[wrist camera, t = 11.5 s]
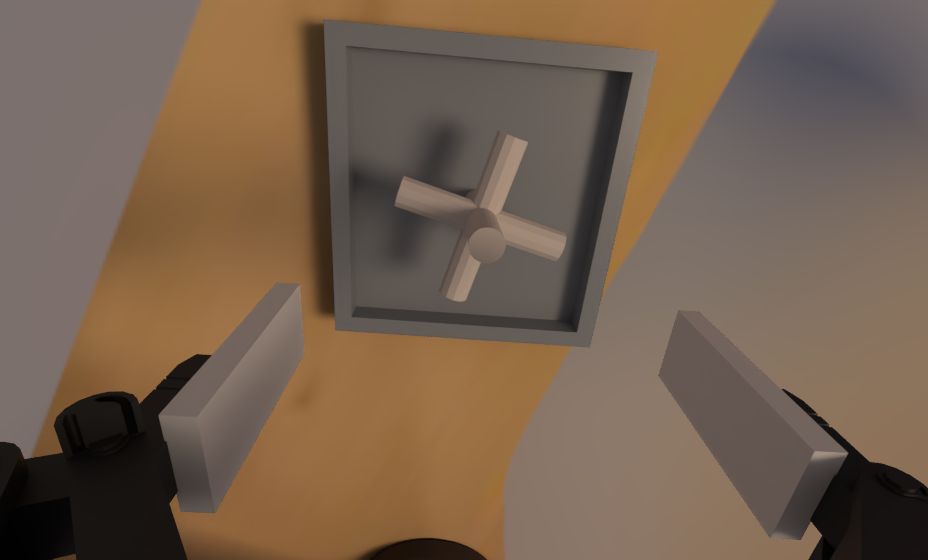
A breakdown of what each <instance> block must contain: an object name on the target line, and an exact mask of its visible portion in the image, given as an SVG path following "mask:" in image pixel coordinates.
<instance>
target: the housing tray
mask: <svg viewBox="0 0 928 560" xmlns="http://www.w3.org/2000/svg"><path fill="white" fill-rule="evenodd" d="M324 44H325V70H326V96H327V123H328V149H329V175H330V202H331V228H332V254H333V281H334V307H335V330H338V331H353V332H368V333H383V334H398V335H413V336H428V337H442V338H457V339H472V340H487V341H502V342H517V343H532V344H547V345H562V346H578V347H590V344H591V340H592V336H593V331H594V327H595V322H596V318H597V314H598V310H599V305H600V301H601V297H602V292H603V288H604V284H605V280H606V275H607V271H608V267H609V262H610V258H611V254H612V249H613V245H614V241H615V236H616V232H617V228H618V223H619V219H620V215H621V211H622V206H623V202H624V198H625V193H626V189H627V185H628V180H629V176H630V172H631V167H632V163H633V159H634V154H635V150H636V146H637V142H638V137H639V133H640V129H641V124H642V120H643V116H644V111H645V107H646V103H647V98H648V94H649V90H650V85H651V81H652V77H653V73H654V68H655V64H656V60H657V55H658V51H649V50H638V49H628V48H617V47H607V46H597V45H586V44H576V43H565V42H555V41H544V40H534V39H523V38H513V37H502V36H492V35H481V34H471V33H460V32H450V31H439V30H429V29H419V28H408V27H398V26H387V25H377V24H366V23H356V22H345V21H335V20H324ZM498 130H499V131H502V132H504V133H507V134H510V135H512V136H515V137H518V138H520V139H523V140H525V141H527V142H528V144H527V147H526V149H525V152H524V154H523V157H522V159H521V162H520V165H519V167H518V170H517V172H516V175H515V177H514V180H513V182H512V185H511V187H510V190H509V192H508V195H507V197H506V200H505V203H504V205H503V208H502V211H504V212H507V213H510V214H513V215H516V216H518V217H521V218H524V219H527V220H530V221H533V222H535V223H538V224H541V225H544V226H547V227H549V228H552V229H555V230H558V231H561V232H563V233H566V244H565V247H564V250H563V252H562V254H561V256H560V257H559V259H558V260H556V261H553V260H550V259H547V258H544V257H541V256H538V255H535V254H532V253H529V252H527V251H524V250H521V249H518V248H515V247H512V246H509V245H506V248H505V252H504V253H503V255H502V256H501V257H500V258H499V259H498V260H497V261H495V262H492V263H480V266H479V268H478V271H477V273H476V276H475V279H474V281H473V284H472V286H471V289H470V291H469V294H468V296H467V299H466V300H465V301H461V302H459V301H454V300H451V299H449V298H446V297H445V296H444V295H442V294H441V293H440V291H439V288H440V286H441V283H442V280H443V278H444V275H445V272H446V269H447V267H448V264H449V261H450V259H451V256H452V253H453V250H454V248H455V245H456V242H457V240H458V237H459V234H460V231H461V229H460V228H457V227H454V226H451V225H448V224H445V223H442V222H439V221H437V220H434V219H431V218H428V217H425V216H422V215H419V214H416V213H413V212H410V211H407V210H405V209H402V208H399V207H396V206H394V205H395V201H396V197H397V194H398V191H399V188H400V185H401V182H402V179H403V177H404V176H406V177H409V178H411V179H414V180H417V181H420V182H423V183H426V184H428V185H431V186H434V187H437V188H440V189H442V190H445V191H448V192H451V193H454V194H457V195H459V196H462V197H465V196H466V195H467V193H468V192H470V191H471V190H475V189H476V188H477V185H478V183H479V180H480V177H481V174H482V172H483V169H484V166H485V164H486V161H487V158H488V155H489V153H490V150H491V147H492V145H493V142H494V139H495V136H496V134H497V131H498Z"/></svg>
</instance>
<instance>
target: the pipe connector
mask: <svg viewBox="0 0 928 560" xmlns="http://www.w3.org/2000/svg"><path fill="white" fill-rule="evenodd" d="M527 144H528V142H527V141H525V140H523V139H520V138H518V137H515V136H512V135H510V134H507V133H504V132H502V131H499V130H498V131H497V134H496V136H495V139H494V142H493V145H492V147H491V150H490V153H489V155H488V158H487V161H486V164H485V166H484V169H483V172H482V174H481V177H480V180H479V183H478V185H477V188H476V189H475V190H471V191H470V192H468V193H467V195H466V196H465V197H462V196H459V195H457V194H454V193H451V192H448V191H445V190H442V189H440V188H437V187H434V186H431V185H428V184H426V183H423V182H420V181H417V180H414V179H411V178H409V177H406V176H404V177H403V179H402V182H401V185H400V188H399V191H398V194H397V197H396V201H395V205H394V206H396V207H399V208H402V209H405V210H407V211H410V212H413V213H416V214H419V215H422V216H425V217H428V218H431V219H434V220H437V221H439V222H442V223H445V224H448V225H451V226H454V227H457V228H460V229H461V231H460V234H459V237H458V240H457V242H456V245H455V248H454V250H453V253H452V256H451V259H450V261H449V264H448V267H447V269H446V272H445V275H444V278H443V280H442V283H441V286H440V288H439V291H440V293H441V294H442V295H444V296H445V297H446V298H449V299H451V300H454V301H459V302H461V301H465V300H466V299H467V296H468V294H469V291H470V289H471V286H472V284H473V281H474V279H475V276H476V273H477V271H478V268H479V266H480V263H492V262H495V261H497V260H498V259H499V258H500V257H501V256H502V255H503V253H504V252H505V248H506V245H509V246H512V247H515V248H518V249H521V250H524V251H527V252H529V253H532V254H535V255H538V256H541V257H544V258H547V259H550V260H553V261H556V260H558V259H559V257H560V256H561V254H562V252H563V250H564V247H565V244H566V233H563V232H561V231H558V230H555V229H552V228H549V227H547V226H544V225H541V224H538V223H535V222H533V221H530V220H527V219H524V218H521V217H518V216H516V215H513V214H510V213H507V212H504V211H502V208H503V205H504V203H505V200H506V197H507V195H508V192H509V190H510V187H511V185H512V182H513V180H514V177H515V175H516V172H517V170H518V167H519V165H520V162H521V159H522V157H523V154H524V152H525V149H526V147H527Z"/></svg>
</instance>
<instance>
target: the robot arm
mask: <svg viewBox="0 0 928 560" xmlns="http://www.w3.org/2000/svg"><path fill="white" fill-rule="evenodd" d="M304 354H305V353H304V338H303V323H302V308H301V293H300V284H289V283H276V284H275V285H274V286H273V288H272V289H271V290H270V291H269V292H268V293H267V294H266V295H265V297H264V298H263V299H262V300H261V301H260V302H259V303H258V304H257V305H256V307H255V308H254V309H253V310H252V311H251V312H250V313H249V314H248V316H247V317H246V318H245V319H244V320H243V321H242V322H241V323H240V324H239V326H238V327H237V328H236V329H235V330H234V331H233V332H232V333H231V335H230V336H229V337H228V338H227V339H226V340H225V341H224V342H223V343H222V345H221V346H220V347H219V348H218V349H217V350H216V351H215V352H214V353H213V355H200V354H196V355H194V356H193V357H191V358H189V359H187V360H186V361H184V362H182V363H180V364H178V365H177V366H176V368H175V369H174V370H173V371H172V372H171V373H170V374H169V375H168V376H167V377H166V379H164V380H163V381H162V382H161V383H160V384H159V385H158V386H157V387H156V390H153V391H152V392H151V393H150V394H149V395H148V396H147V397H146V398H145V399H144V400H143V401H142V402H141V403H140V404H139V402H138V399H137V398H136V397H135V396H134V395H133V394H130V393H126V392H106V393H101V394H96V395H92V396H90V397H87V398H84V399H82V400H79V401H77V402H76V403H74V404H72V405H71V406H69V407H67V408H65V409H64V410H63V411H62V412H61V413H60V414H59V415H58V416H57V418H56V421H55V424H54V428H55V431H56V433H57V436H58V439H59V442H60V445H61V448H62V451H63V453H59V454H53V455H47V456H41V457H35V458H29V459H24V457H23V455H22V452H21V450H20V448H19V447H17V446H16V445H15V444H13V443H7V442H0V560H53V559H55V558H59V557H63V556H68V555H72V554H76V559H77V560H187V557H186V554H185V551H184V548H183V544H182V541H181V538H180V535H179V532H178V529H177V526H176V523H175V520H174V517H173V514H172V511H171V507H170V504H169V503H170V502H171V500H172V499H173V498H174V496H175V495H176V493H177V498H178V502H179V506H180V510H181V512H203V513H215V512H216V511H217V509H218V507H219V505H220V503H221V502H222V500H223V498H224V496H225V495H226V493H227V491H228V489H229V487H230V486H231V484H232V482H233V480H234V479H235V477H236V475H237V473H238V471H239V470H240V468H241V466H242V464H243V462H244V461H245V459H246V457H247V455H248V454H249V452H250V450H251V448H252V446H253V445H254V443H255V441H256V439H257V437H258V436H259V434H260V432H261V430H262V429H263V427H264V425H265V423H266V421H267V420H268V418H269V416H270V414H271V412H272V411H273V409H274V407H275V405H276V404H277V402H278V400H279V398H280V396H281V395H282V393H283V391H284V389H285V388H286V386H287V384H288V382H289V380H290V379H291V377H292V375H293V373H294V371H295V370H296V368H297V366H298V364H299V363H300V361H301V359H302V357H303V355H304ZM659 377H660V378H661V380H662V381H663V383H664V384H665V386H666V387H667V389H668V390H669V392H670V393H671V394H672V396H673V397H674V399H675V400H676V402H677V403H678V405H679V406H680V407H681V409H682V410H683V412H684V413H685V415H686V416H687V418H688V419H689V421H690V422H691V423H692V425H693V427H694V428H695V429H696V431H697V432H698V434H699V435H700V437H701V438H702V440H703V441H704V443H705V444H706V446H707V447H708V448H709V450H710V451H711V453H712V454H713V456H714V457H715V458H716V460H717V462H718V463H719V464H720V466H721V467H722V469H723V470H724V472H725V473H726V475H727V476H728V478H729V479H730V481H731V482H732V483H733V485H734V486H735V488H736V489H737V491H738V492H739V493H740V495H741V497H742V498H743V499H744V501H745V502H746V504H747V505H748V507H749V508H750V510H751V511H752V513H753V514H754V516H755V517H756V518H757V520H758V521H759V523H760V524H761V526H762V527H763V528H764V530H765V531H766V533H767V534H768V536H769V537H770V538H774V539H795V540H801V538H802V536H803V535H804V533H805V531H806V529H807V527H808V525H809V524H810V522H812V523H813V524H814V526H815V527H816V528H817V529H818V531H819V532H820V533H821V534H822V537H821V539H820V540H819V542H818V544H817V546H816V548H815V549H814V551H813V553H812V554H811V556H810V558H809V560H928V488H927V487H926V486H925V485H924V484H922V483H921V482H919V481H918V480H916V479H915V478H913V477H912V476H911V475H909V474H906V473H905V472H903V471H901V470H899V469H897V468H894V467H891V466H888V465H885V464H881V463H874V462H869V461H868V460H867V459H866V458H865V457H864V456H863V455H862V454H860V453H859V452H858V451H857V450H856V449H855V448H854V447H853V446H852V445H851V444H850V443H848V442H847V441H846V440H845V439H844V438H843V437H842V436H841V435H840V434H839V433H838V432H837V431H836V430H834V429H833V428H832V427H829V424H828V423H827V422H826V421H825V420H823V419H822V418H821V417H820V416H819V417H818V416H817V413H816V412H815V411H814V410H813V409H812V408H811V407H809V406H808V405H807V404H806V403H805V402H804V401H802V400H801V399H799V398H798V397H796V396H795V395H793V394H791V393H790V392H788V391H786V390H785V389H780V388H779V387H778V386H777V385H776V384H775V383H774V382H773V381H772V380H771V379H770V378H769V377H768V376H767V375H765V373H763V372H762V371H761V370H760V369H759V368H758V367H757V366H756V365H755V364H754V363H753V362H752V361H751V360H750V359H749V358H747V356H746V355H744V354H743V353H742V352H741V351H740V350H739V349H738V348H737V347H736V346H735V345H734V344H733V343H732V342H731V341H730V340H729V339H728V338H727V337H725V336H724V335H723V334H722V333H721V332H720V331H719V330H718V329H717V328H716V327H715V326H714V325H713V324H712V323H711V322H709V320H708V319H707V318H705V317H704V316H703V315H702V314H701V313H700V312H695V311H680V310H679V311H678V313H677V317H676V320H675V323H674V326H673V330H672V333H671V336H670V340H669V343H668V346H667V350H666V353H665V356H664V359H663V362H662V366H661V369H660V373H659ZM371 560H487V559H485V558H484V557H483V556H482V555H480V554H479V553H477V552H476V551H474V550H472V549H470V548H467V547H465V546H462V545H459V544H456V543H452V542H447V541H440V540H416V541H409V542H404V543H400V544H397V545H394V546H391V547H389V548H387V549H385V550H383V551H381V552H380V553H378V554H377V555H375V556H374V557H373V558H372V559H371Z"/></svg>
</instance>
